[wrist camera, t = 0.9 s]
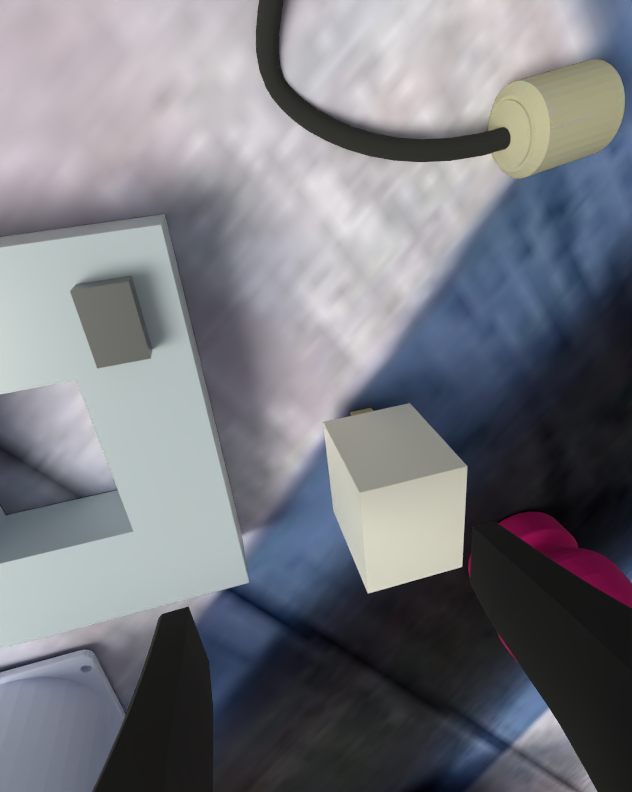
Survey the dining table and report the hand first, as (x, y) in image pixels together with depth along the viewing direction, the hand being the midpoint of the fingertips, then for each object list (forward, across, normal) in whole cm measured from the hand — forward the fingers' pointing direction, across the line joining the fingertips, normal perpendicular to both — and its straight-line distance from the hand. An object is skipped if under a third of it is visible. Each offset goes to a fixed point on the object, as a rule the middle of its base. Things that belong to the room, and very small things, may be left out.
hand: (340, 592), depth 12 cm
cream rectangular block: (+10, -4, +3) cm, 12 cm away
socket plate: (+10, +9, -1) cm, 14 cm away
